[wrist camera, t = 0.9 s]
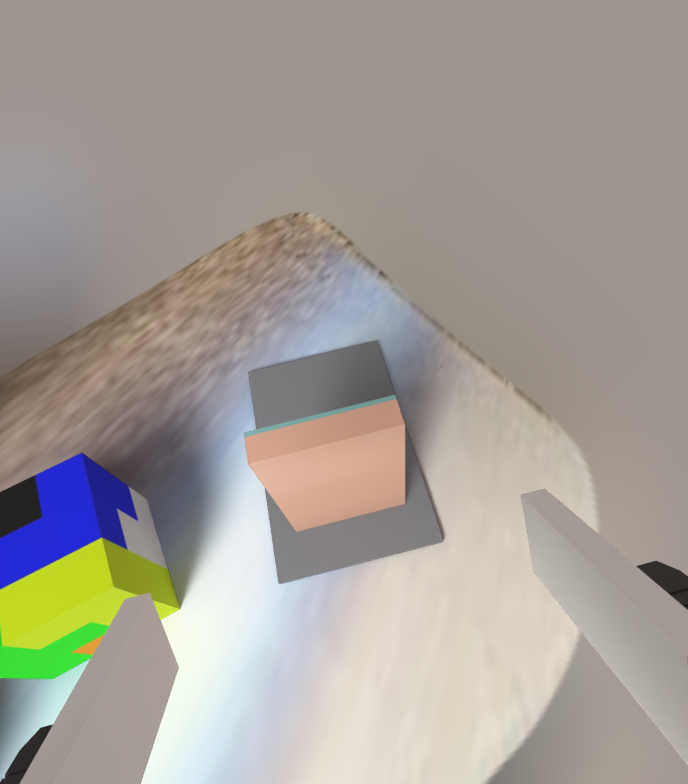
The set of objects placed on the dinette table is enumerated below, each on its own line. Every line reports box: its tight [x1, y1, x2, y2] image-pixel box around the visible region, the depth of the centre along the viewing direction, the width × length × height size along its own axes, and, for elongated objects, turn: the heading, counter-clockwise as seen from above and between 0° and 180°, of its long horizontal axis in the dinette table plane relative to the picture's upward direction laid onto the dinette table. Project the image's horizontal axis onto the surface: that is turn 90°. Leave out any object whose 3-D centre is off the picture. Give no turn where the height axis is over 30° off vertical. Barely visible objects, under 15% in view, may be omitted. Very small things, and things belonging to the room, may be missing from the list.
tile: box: [244, 395, 405, 532], centre depth 34 cm, size 2×9×14 cm, turn 102°
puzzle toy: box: [0, 453, 180, 679], centre depth 35 cm, size 10×10×10 cm
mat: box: [248, 340, 443, 584], centre depth 43 cm, size 20×13×1 cm, turn 13°
